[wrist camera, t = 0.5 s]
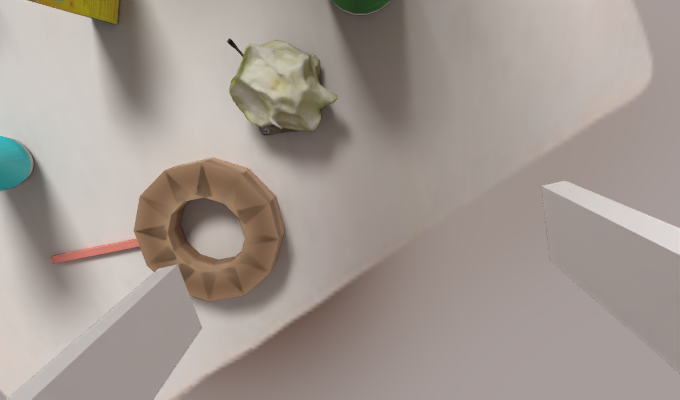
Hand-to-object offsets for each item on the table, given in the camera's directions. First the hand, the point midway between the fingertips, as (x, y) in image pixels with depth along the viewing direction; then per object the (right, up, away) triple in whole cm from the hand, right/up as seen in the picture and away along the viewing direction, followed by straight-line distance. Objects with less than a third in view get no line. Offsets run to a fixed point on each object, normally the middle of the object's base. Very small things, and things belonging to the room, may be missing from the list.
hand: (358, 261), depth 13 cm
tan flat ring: (-15, -1, +29) cm, 32 cm away
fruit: (-6, +14, +25) cm, 29 cm away
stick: (-28, -3, +31) cm, 42 cm away
